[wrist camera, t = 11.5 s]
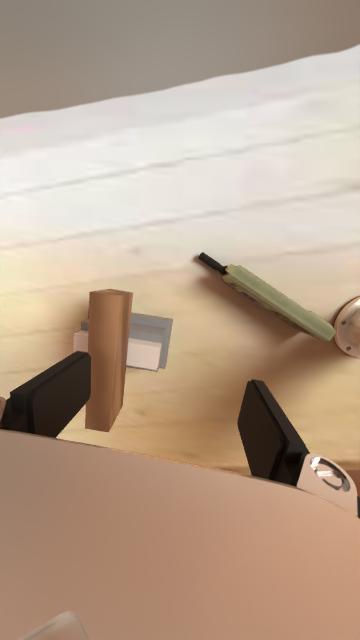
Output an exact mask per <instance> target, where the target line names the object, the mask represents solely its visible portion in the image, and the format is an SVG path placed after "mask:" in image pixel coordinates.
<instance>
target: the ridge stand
mask: <svg viewBox="0 0 360 640" xmlns="http://www.w3.org/2000/svg"><path fill="white" fill-rule="evenodd" d="M172 322H173V319H168V318H162V317H156V316H150V315H144V314H137V313H131V318H130V329H129V340H128V351H127V362H126V367H131V368H137V369H143V370H149V371H155V372H158V369H159V368H162V369H165V366H166V361H167V354H168V348H169V341H170V335H171V328H172ZM88 328H89V315H88V319H86V320H84V321H81V330H80V331H78V332H76V333H74V346H73V353H75V352H76V351H82V352H88Z"/></svg>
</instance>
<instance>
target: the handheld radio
mask: <svg viewBox="0 0 360 640" xmlns="http://www.w3.org/2000/svg"><path fill="white" fill-rule="evenodd" d="M199 259H200V260H201V261H203V262H204V263H206V264H207V265H209V266H210V267H212V268H213V269H215V270H217V271H219V272H220V273H221V274H222V275H223V276H222V279H223V281H224V282H226V283H227V284H228V285H230V286H231V287H233V288H234V289H236V291H237V292H239V293H240V294H242V295H243V296H245V297H246V298H248V299H250V300H251V301H253V302H254V303H256V304H257V305H259V306H261V307H263V308H265V309H267V310H268V311H270V312H271V313H273V314H274V315H276V316H277V317H279V318H280V319H282V320H284V321H285V322H287V323H288V324H290V325H291V326H293V327H294V328H296V329H297V330H299V331H301V332H303V333H306V334H308V335H310V336H313V337H315V338H318V339H320V340H323V341H330V340H331V339H332V338H333V336H334V335H335V334H336V331H335V329H334V328H333V326H332V325H331V324H330V323H328V322H327V321H325V320H324V319H322V318H321V317H319V316H318V315H316V314H315V313H313V312H312V311H307V310H306V309H304V308H303V307H301V306H300V305H298V304H297V303H295V302H294V301H292V300H291V299H289V298H288V297H287V296H285V295H284V294H282V293H281V292H279V291H278V290H276V289H275V288H273V287H272V286H270V285H269V284H267V283H266V282H264V281H263V280H261V279H260V278H258V277H257V276H255V275H254V274H252V273H251V272H250V271H248V270H247V269H245V268H244V267H242V266H240V265H239V266H234V265H232V264H230V266H224V267H223V266H222V265H220V263H218V262H217V261H215V260H214V259H212V258H211V257H209V256H208V255H206V254H205V253H203V252H202V253H201V254H200V256H199Z"/></svg>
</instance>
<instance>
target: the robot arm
mask: <svg viewBox="0 0 360 640" xmlns="http://www.w3.org/2000/svg"><path fill="white" fill-rule="evenodd" d="M334 329H335V331H336V334H335V335H334V339H335V342H336V344H337V345H338V347H339V348H340V349H341V350H342V351H344V352H345V353H347V354H349V355H351V356H354V357H357V358H360V297H358V298H356V299H354V300H352V301H351V302H350V303H348V304H347V305H346V306H345V307H344V308H343V309H342V310H341V312H340V313H339V315H338V316H337V319H336V321H335V324H334ZM90 395H91V356H90V355H89V353H88V352H82V351H76V352H75V353H73V354H71V355H70V356H68V357H66V358H65V359H63V360H62V361H60V362H58V363H57V364H55V365H53V366H52V367H50V368H49V369H47V370H45V371H44V372H42V373H40V374H39V375H37V376H36V377H34V378H32V379H31V380H29V381H28V382H26V383H24V384H23V385H21V386H19V387H18V388H16V389H15V390H13V391H11V392H10V398H9V399H7V400H6V399H5V398H3V397H0V640H360V498H359V497H358V496H357V490H356V486H355V484H354V482H353V480H352V479H351V478H350V477H349V475H348V474H347V473H346V472H345V471H344V470H343V469H342V468H341V467H340V466H339V465H337V464H336V463H335V462H333V461H332V460H330V459H328V458H326V457H325V456H322V455H319V454H315V453H310V452H309V451H308V449H307V448H306V445H305V444H304V442H303V441H302V439H301V438H300V436H299V435H298V433H297V431H296V430H295V428H294V427H293V425H292V424H291V422H290V421H289V419H288V418H287V416H286V415H285V413H284V412H283V410H282V409H281V407H280V406H279V404H278V403H277V401H276V400H275V398H274V397H273V395H272V394H271V392H270V391H269V389H268V388H267V386H266V385H265V383H264V382H263V381H260V380H254V379H252V380H251V382H250V381H248V383H247V386H246V390H245V394H244V398H243V402H242V405H241V409H240V413H239V417H238V429H239V432H240V436H241V439H242V443H243V446H244V450H245V453H246V457H247V460H248V464H249V467H250V470H251V474H252V476H250V475H245V474H240V473H236V472H231V471H226V470H221V469H216V468H211V467H206V466H201V465H196V464H191V463H185V462H180V461H175V460H170V459H165V458H160V457H155V456H149V455H144V454H139V453H134V452H128V451H123V450H118V449H112V448H107V447H102V446H96V445H91V444H85V443H80V442H74V441H69V440H63V439H58V438H56V437H57V436H58V435H59V433H60V432H61V431H62V430H63V429H64V428H65V427H66V425H67V424H68V423H69V422H70V421H71V420H72V419H73V417H74V416H75V415H76V414H77V413H78V412H79V411H80V409H81V408H82V407H83V406H84V405H85V404H86V402H87V401H88V400H89V398H90Z"/></svg>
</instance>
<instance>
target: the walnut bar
mask: <svg viewBox="0 0 360 640" xmlns="http://www.w3.org/2000/svg"><path fill="white" fill-rule="evenodd" d="M132 297H133V293H131V292H125V291H119V290H113V289H106V290H99V291H93V292H90V297H89V328H88V353H89V355H90V356H91V395H90V398H89V400H88V401H87V402H86V419H85V428H86V429H92V430H98V431H104V432H109V431H110V429H111V427H112V425H113V423H114V421H115V419H116V417H117V415H118V413H119V411H120V409H121V408H122V405H123V394H124V383H125V373H126V362H127V351H128V340H129V329H130V318H131V307H132Z"/></svg>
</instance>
